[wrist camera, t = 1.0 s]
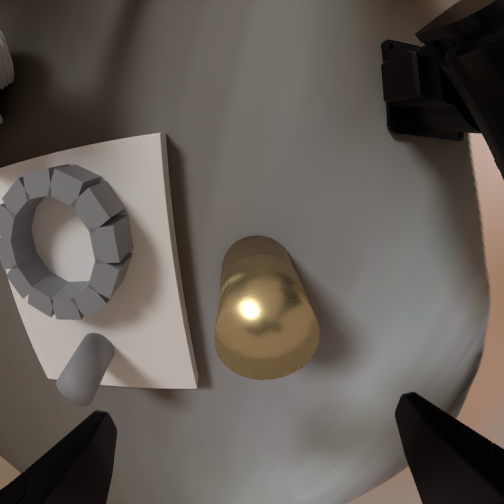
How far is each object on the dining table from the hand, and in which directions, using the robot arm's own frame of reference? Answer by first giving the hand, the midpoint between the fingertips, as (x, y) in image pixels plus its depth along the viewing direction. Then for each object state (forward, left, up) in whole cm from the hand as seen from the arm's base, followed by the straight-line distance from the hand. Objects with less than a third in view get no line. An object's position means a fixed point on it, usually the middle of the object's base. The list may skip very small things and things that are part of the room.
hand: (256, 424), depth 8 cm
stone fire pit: (+11, +1, -13) cm, 17 cm away
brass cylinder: (-1, +1, -13) cm, 13 cm away
